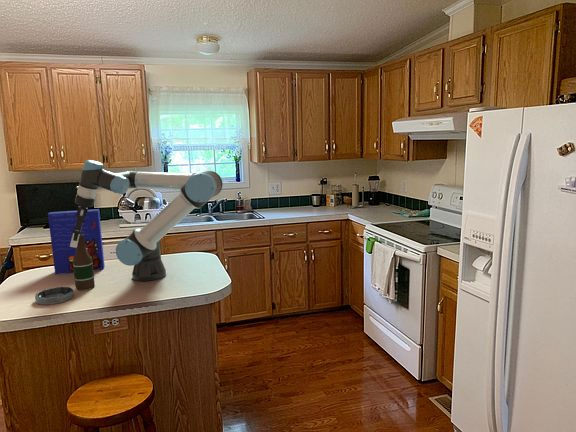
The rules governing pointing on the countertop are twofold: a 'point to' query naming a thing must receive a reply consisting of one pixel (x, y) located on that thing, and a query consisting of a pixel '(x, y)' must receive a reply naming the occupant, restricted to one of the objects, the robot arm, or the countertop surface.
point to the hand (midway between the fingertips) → (74, 241)
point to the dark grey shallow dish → (54, 295)
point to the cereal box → (62, 236)
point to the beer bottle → (83, 267)
